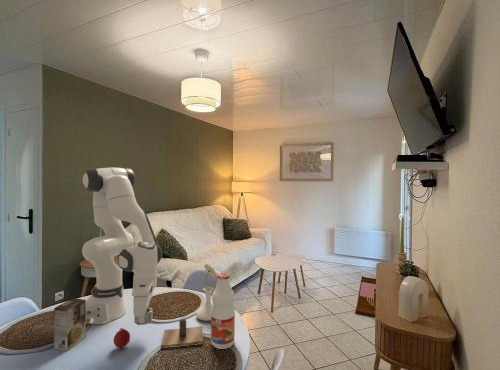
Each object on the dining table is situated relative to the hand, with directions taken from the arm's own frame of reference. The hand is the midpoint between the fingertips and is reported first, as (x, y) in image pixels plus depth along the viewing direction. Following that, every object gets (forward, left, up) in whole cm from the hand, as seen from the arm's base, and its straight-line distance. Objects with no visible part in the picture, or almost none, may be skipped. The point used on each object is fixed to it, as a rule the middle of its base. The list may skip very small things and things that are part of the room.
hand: (143, 316), depth 108 cm
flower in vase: (+27, +16, -11) cm, 33 cm away
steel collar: (0, 0, -2) cm, 2 cm away
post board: (+16, -1, -11) cm, 19 cm away
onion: (-7, -3, -11) cm, 13 cm away
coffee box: (-28, +4, -11) cm, 31 cm away
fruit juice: (+32, -7, -11) cm, 34 cm away
